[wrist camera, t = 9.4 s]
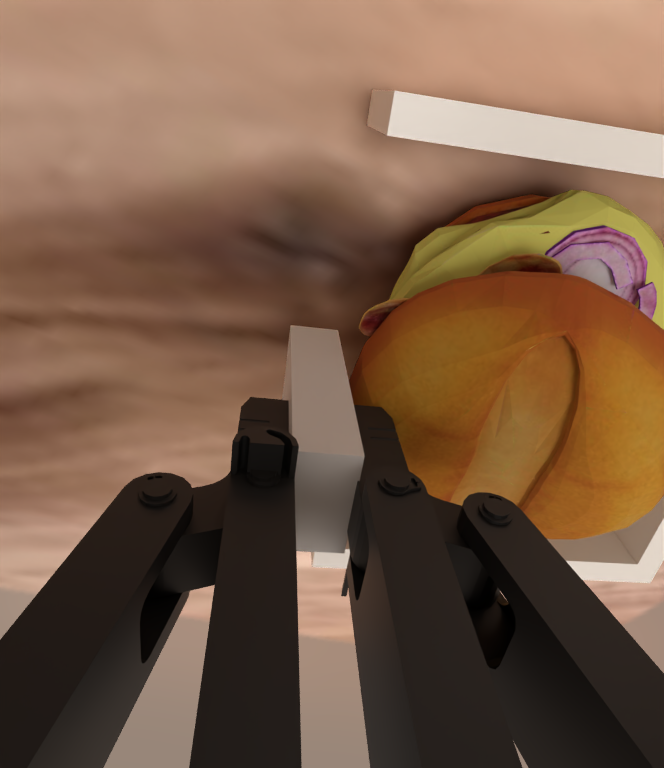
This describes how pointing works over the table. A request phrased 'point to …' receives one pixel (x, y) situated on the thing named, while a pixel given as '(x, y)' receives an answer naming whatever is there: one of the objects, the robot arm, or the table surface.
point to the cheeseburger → (529, 361)
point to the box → (560, 144)
